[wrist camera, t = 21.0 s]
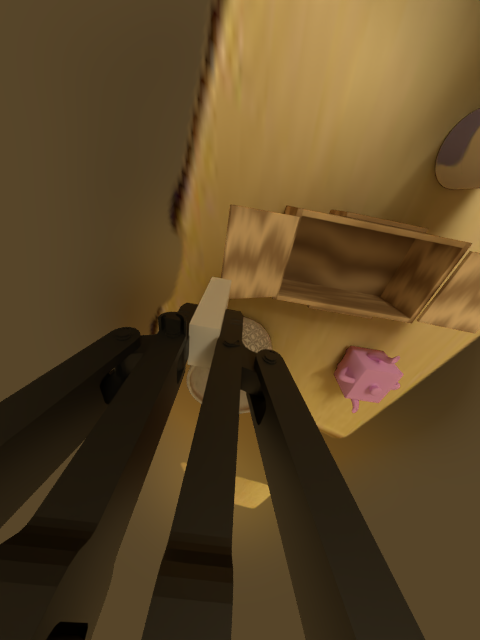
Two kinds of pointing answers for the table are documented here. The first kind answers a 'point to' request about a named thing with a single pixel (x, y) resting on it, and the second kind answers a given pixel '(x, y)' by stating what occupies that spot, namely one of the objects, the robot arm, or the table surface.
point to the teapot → (367, 375)
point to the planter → (253, 340)
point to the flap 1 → (256, 251)
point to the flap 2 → (458, 299)
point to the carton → (365, 265)
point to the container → (461, 155)
